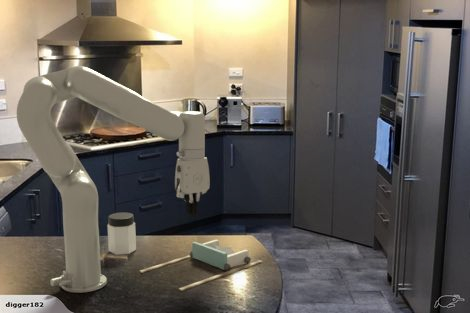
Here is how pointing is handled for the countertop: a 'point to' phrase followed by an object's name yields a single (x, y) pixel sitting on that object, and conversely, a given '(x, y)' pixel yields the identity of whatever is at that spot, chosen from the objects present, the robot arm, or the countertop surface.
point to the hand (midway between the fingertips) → (191, 214)
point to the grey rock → (225, 249)
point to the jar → (121, 233)
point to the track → (204, 279)
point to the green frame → (218, 255)
